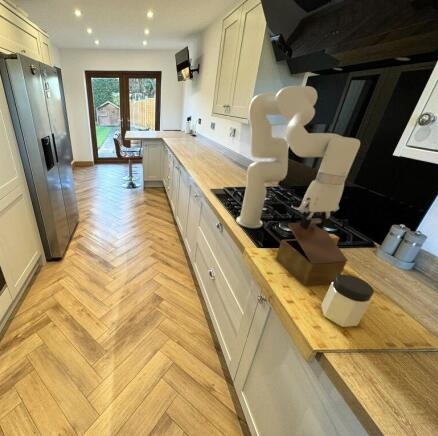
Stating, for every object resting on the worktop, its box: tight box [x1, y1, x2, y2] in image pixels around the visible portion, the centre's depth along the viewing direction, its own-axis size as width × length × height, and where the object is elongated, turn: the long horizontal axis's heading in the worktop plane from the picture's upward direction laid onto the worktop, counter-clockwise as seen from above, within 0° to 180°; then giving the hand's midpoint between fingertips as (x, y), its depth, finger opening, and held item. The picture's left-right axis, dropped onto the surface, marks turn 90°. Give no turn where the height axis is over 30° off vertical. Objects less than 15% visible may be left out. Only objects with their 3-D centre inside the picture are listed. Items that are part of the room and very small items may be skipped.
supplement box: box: [328, 233, 340, 246], centre depth 93 cm, size 3×3×10 cm
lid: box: [287, 217, 349, 264], centre depth 80 cm, size 16×13×5 cm
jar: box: [320, 273, 375, 328], centre depth 66 cm, size 9×8×12 cm
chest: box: [275, 238, 347, 287], centre depth 86 cm, size 16×13×9 cm
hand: (311, 226), depth 83 cm, fingers closed on lid, 5 cm apart
